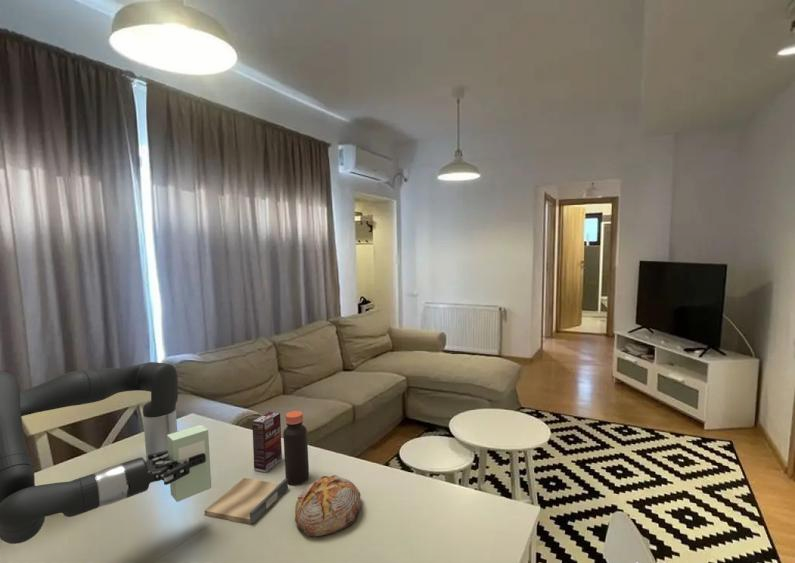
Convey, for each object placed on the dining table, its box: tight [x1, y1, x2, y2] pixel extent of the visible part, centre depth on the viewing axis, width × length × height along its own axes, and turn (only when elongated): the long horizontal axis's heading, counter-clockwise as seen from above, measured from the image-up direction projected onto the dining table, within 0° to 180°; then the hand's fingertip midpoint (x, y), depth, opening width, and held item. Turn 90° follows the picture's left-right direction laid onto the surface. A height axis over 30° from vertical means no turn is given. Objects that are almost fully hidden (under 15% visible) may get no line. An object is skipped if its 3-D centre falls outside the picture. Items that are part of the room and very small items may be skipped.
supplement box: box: [251, 411, 283, 473], centre depth 132 cm, size 9×5×16 cm, turn 160°
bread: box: [294, 474, 362, 537], centre depth 107 cm, size 16×20×10 cm
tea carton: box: [167, 424, 212, 503], centre depth 102 cm, size 4×8×15 cm, turn 135°
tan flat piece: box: [204, 477, 289, 525], centre depth 114 cm, size 15×16×3 cm
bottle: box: [282, 410, 310, 486], centre depth 124 cm, size 7×7×20 cm
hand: (200, 454), depth 104 cm, fingers closed on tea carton, 4 cm apart
